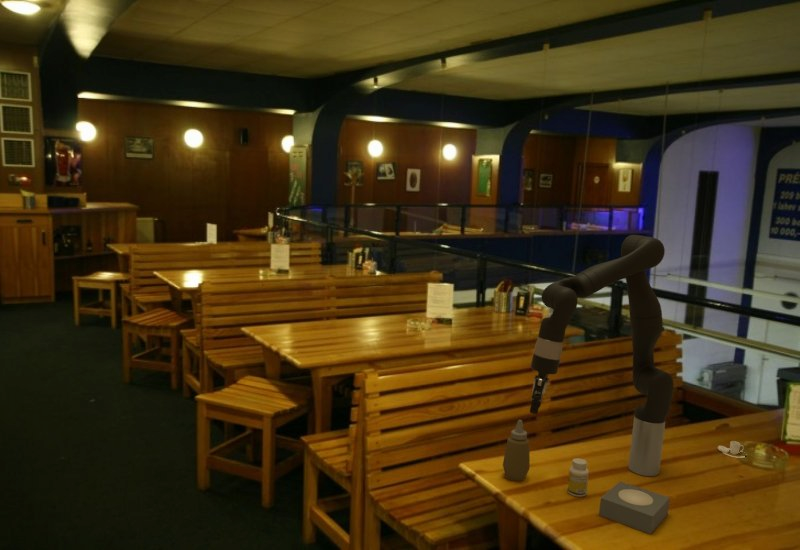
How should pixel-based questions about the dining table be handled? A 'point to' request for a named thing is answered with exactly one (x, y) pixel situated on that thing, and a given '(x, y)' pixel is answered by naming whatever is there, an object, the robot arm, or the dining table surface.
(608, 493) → the charcoal stand
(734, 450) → the teacup and saucer
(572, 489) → the supplement bottle
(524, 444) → the squeeze bottle
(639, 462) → the robot arm
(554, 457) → the dining table surface
